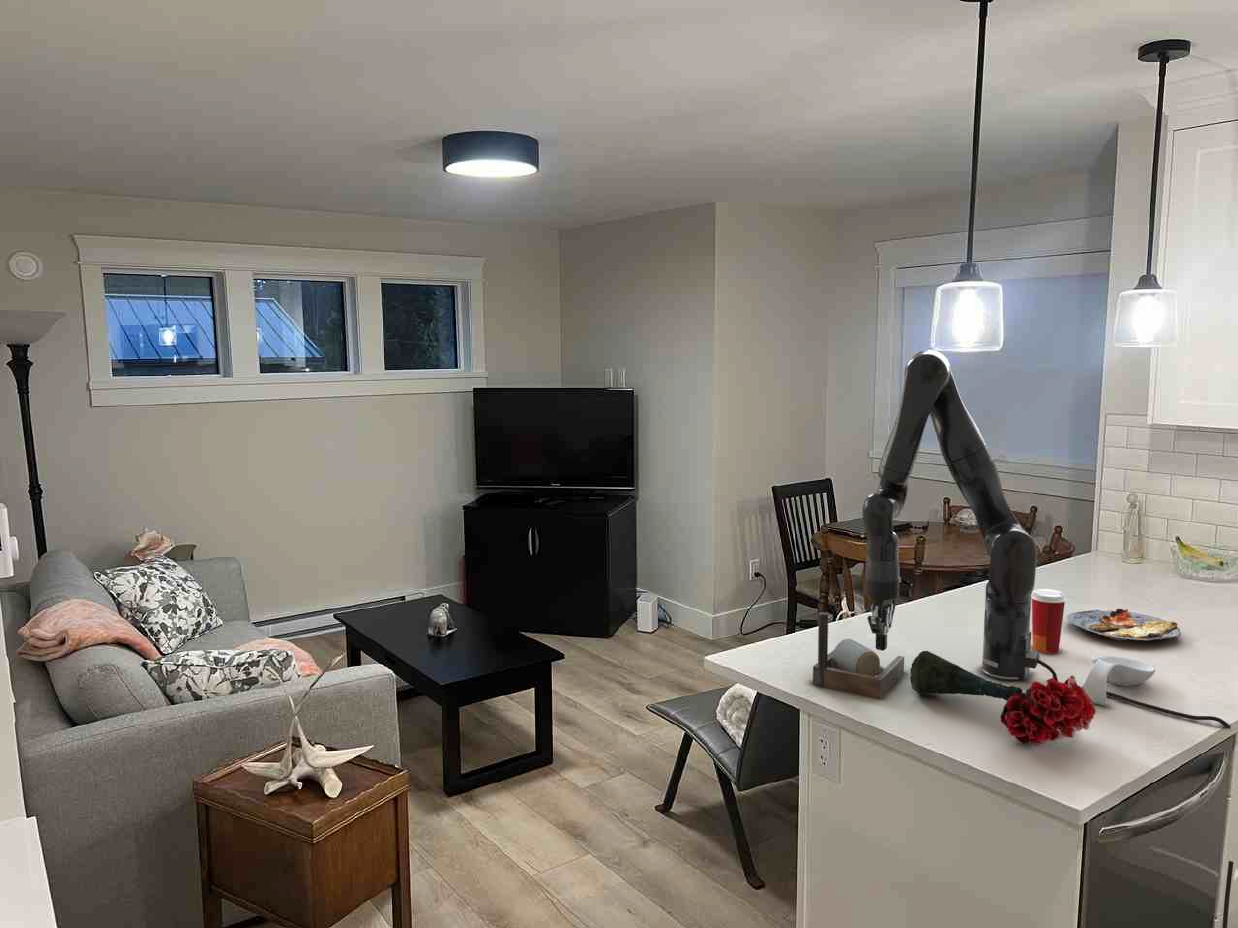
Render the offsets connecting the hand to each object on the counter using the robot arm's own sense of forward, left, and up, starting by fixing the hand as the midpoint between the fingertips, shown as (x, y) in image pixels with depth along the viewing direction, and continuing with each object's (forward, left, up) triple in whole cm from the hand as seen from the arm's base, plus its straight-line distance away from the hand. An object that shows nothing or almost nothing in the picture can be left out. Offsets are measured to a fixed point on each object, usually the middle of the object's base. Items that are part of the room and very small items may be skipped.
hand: (881, 648), depth 209 cm
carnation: (-29, +22, -3) cm, 36 cm away
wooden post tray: (0, +14, -3) cm, 15 cm away
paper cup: (-31, -27, -3) cm, 41 cm away
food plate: (-45, -51, -3) cm, 68 cm away
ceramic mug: (+1, +12, -3) cm, 12 cm away
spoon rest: (-47, -9, -3) cm, 48 cm away
